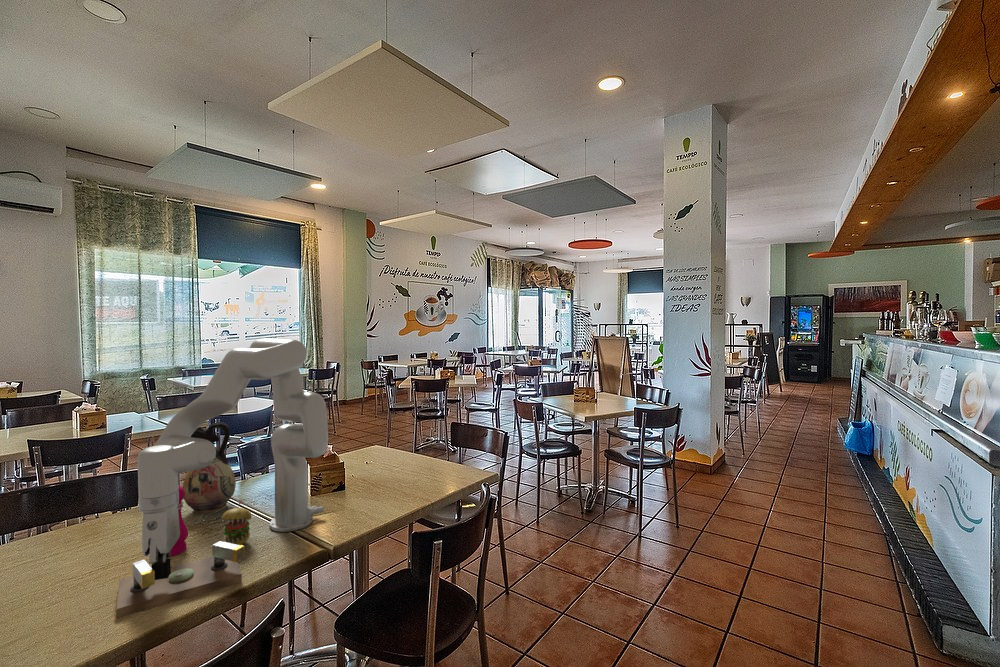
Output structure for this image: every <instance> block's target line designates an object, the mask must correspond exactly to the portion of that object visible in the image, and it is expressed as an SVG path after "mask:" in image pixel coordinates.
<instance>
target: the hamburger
mask: <svg viewBox="0 0 1000 667" xmlns="http://www.w3.org/2000/svg"><path fill="white" fill-rule="evenodd" d="M243 503H245V501H242V500H240V499H238V507H234V508H233V507H232V508H230V509H228V510H226V511H224V512H223V514H222V515H221V519H220V520H221V521H224V524H225V525H224V526H223V528H222V530H223V534H224V536H223V539H222V542H227V543H231V544H236V545H242V546H244V545H243V544H245V543H246V542H248V540H249V538H250V525H251V523H250V522H249V521H250V520H251V519H252V512H251V511H250V510H248V509H247V508H244V507H239V506H240V505H241V504H243Z"/></svg>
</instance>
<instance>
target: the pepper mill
mask: <svg viewBox="0 0 1000 667" xmlns="http://www.w3.org/2000/svg"><path fill="white" fill-rule="evenodd" d="M184 497H185V490H184V488H183V486H181V485H179V504H178V505H177V506H178V513H179V525H180V537H179V539H178V540H177V542H176V543H175V545H174V546H173V547H172V549H171V550H170V557H169V558H171V557H175V556H178V555H180V554H182V553H184V552H185V551H186V550H187V542H186V539H187V538H188V536H189V529H188V526H187V525H186V523H185V520H184V519H183V516H182V515H183V514H182V508H183V507H184V501H183V500H184Z"/></svg>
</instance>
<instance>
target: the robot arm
mask: <svg viewBox="0 0 1000 667" xmlns="http://www.w3.org/2000/svg"><path fill="white" fill-rule="evenodd" d="M307 353H308V351H307V348H306V346H305V344H304V343H303V342H302V341H300V340H297V339H287V338H259V339H257V340H254V341H252V342H251V344H250V346H249V347H238V348H237V347H236V348H233V349H231V350H229V351H228V352H227V353H226V354H225V355H224V357H223V359H222V360H221V362H220V364H219V365H218V366H217V368H216V370H215V372H214V374H213V376H211V379H210V380H209V382H208V384H206V385H207V386H206V387H205V389H204V391H203V392H202V393H201V394H200V395H199V396H198V397H197V398H195V399H194V400H192V401H191V402H190V403H188V404H187V405H186V406H184V407H183V408H182V409H181V410H180V411H179V412H177V413H176V414H175V415H174V416H173V417H172V418H170V420H169V422H168V423H167V425H166V426H165V428H164V429H163V431H162V433H161V434H160V435H159V437H158V440H157V441H156V443H155V445H153V446H149V447H146V448H143V449H142V450H140V451H139V452H138V454H137V460H136V461H137V477H138V478H137V487H138V488H137V489H138V490H137V491H138V511H139V513H142V523H141V524H142V527H141V528H142V529H141V549H142V551H141V552H142V555H143V556H144V557H148V556H149V557H148V564H151V568H152V569H153V570H154V571H155V580H159V579H166V578H168V577H169V575H170V574H171V567H172V566H171V557H170V550H171V549H172V547H173V546H174V545H175V543H176V542H177V540H178V539H179V537H180V525H179V513H178V506H177V505H178V504H179V486H180V485H179V484H180V483H179V475H180V474H184V473H187V472H190V471H196V470H200V469H203V468H205V467H206V466H208V465H209V464H210V463H211V462H212V461H213V460H214V458H215V456H216V449H217V448H215V447H216V446H215V444H214V445H213V444H212V443H211V442H210V441H208V440H205V439H199V438H192V437H191V435H192V434H193V433H194V431H195V430H196V429H197V428H199V427H201V425H203V424H204V423H206V422H208V421H210V420H211V419H213V418H216V417H218V416H221V415H223V414H226V413H228V412H230V411H233V410H234V409H235V408H236V407H237V405H238V403H239V402H240V399H241V397H242V396H243V394H244V392H245V390H246V388H247V386H248V385H249V383H250V382H251V380H258V381H259V380H260V381H265V380H270V381H271V386H272V387H271V388H272V399H273V400H272V401H273V411H274V415H275V417H276V418H277V419H278V420H281V421H284V422H291V423H286V424H282V425H279V426H277V428H275V429H274V431H272V434H271V437H270V446H271V451H272V456H273V461H274V462H273V463H274V518H272V519H271V520H270V522H269V529H271V531H273V532H281V533H283V532H284V533H288V532H294V531H299V530H302V529H305V528H306V527H308V526H309V525H311V524H312V523H313V520H314V515H315V514H320V513H321V514H322V513H323V512H324V506H323V505H321V506H318V505H312V506H309V504H308V503H309V501H308V500H309V499H308V498H309V497H308V485H309V484H308V483H309V482H308V480H309V478H308V477H309V476H308V471H309V470H308V468H309V467H308V463H307V459H306V458H311V459H312V458H313V459H314V458H318V457H321V456H322V455H324V454H325V451H326V449H327V447H328V444H329V427H328V426H329V423H328V410H327V404H326V401H325V399H324V398H323V396H322V395H321V394H320V393H317V392H314V391H313V392H312V391H304V388H303V381H302V374H301V370H300V367H301V366H302V365H303V364H304V362H305V361H306V359H307V356H308V355H307ZM292 422H293V423H292ZM297 423H300V424H297ZM298 529H299V530H298Z"/></svg>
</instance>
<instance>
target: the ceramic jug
mask: <svg viewBox="0 0 1000 667" xmlns="http://www.w3.org/2000/svg"><path fill="white" fill-rule="evenodd" d="M215 429H221V430H223V432H224V435H223V439H222V442H221V445H220V447H219V450H218V449H217V448H216V446H215V443H216V442H219V441H220V438H219V436H218V435H217V434H216V433H214V432H213V430H215ZM191 437H192V438H199V439H205V440H208V441H210V442H211V443H212V444H213V445H214V446H215V448H216V456H215V458H214V460H213V461H212V462H211V463H210V464H209V465H208V466H206V467H205V468H203V469H200V470H196V471H190V472H186V475H185V478H184V479H183V480H184V481H183V484H182V487H183V488H184V490H185V497H184V499H183V500H184V502H185V504H186V505H187V506H188V507H189V508H190V509H192V510H193V513H194V515H198V516H199V515H200V516H203V515H211V514H215V513H218V512H220V511H223V510H224V509H226V508H227V507H228V505H227V503H228V502H229V501H230V500H231V498H232V497H233V496H234V494H235V492H236V484H237V482H236V476H235V474H234V471H233V469H232V466H230V464H229V462H228V458H227V456H226V452H225V451H226V448H227V446H228V443H229V440H230V437H231V430H230V427H229V425H228V424H227V423H225V422H223V421H216V422H214V423H213V422H212V423H211V424H209V426H208V427H207V428H206V430H205V429H204V428H203V427H202V426H199V427H198V428H197V429H196V430H195V431H194V433H193V434H192V435H191Z"/></svg>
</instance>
